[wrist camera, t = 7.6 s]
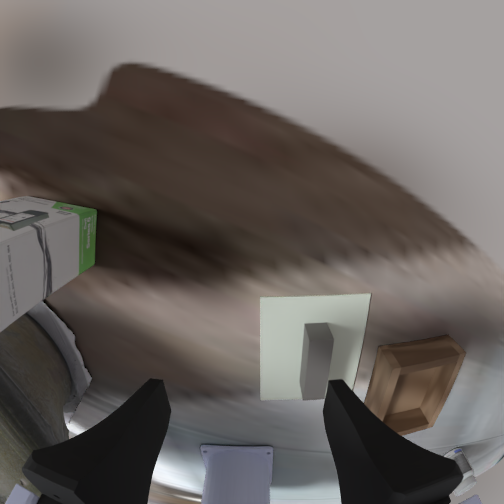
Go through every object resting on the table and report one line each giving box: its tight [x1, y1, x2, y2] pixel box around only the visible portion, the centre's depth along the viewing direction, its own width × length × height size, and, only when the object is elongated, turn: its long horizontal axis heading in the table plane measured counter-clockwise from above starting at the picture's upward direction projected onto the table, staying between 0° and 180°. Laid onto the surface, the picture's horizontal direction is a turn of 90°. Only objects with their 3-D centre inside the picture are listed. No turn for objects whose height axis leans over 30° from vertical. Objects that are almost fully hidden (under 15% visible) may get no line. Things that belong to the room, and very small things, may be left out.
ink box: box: [0, 196, 97, 332], centre depth 14 cm, size 9×5×12 cm, turn 78°
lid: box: [260, 293, 371, 401], centre depth 22 cm, size 11×9×3 cm
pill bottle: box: [444, 448, 477, 496], centre depth 25 cm, size 5×5×8 cm
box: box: [364, 335, 466, 436], centre depth 22 cm, size 10×8×3 cm
